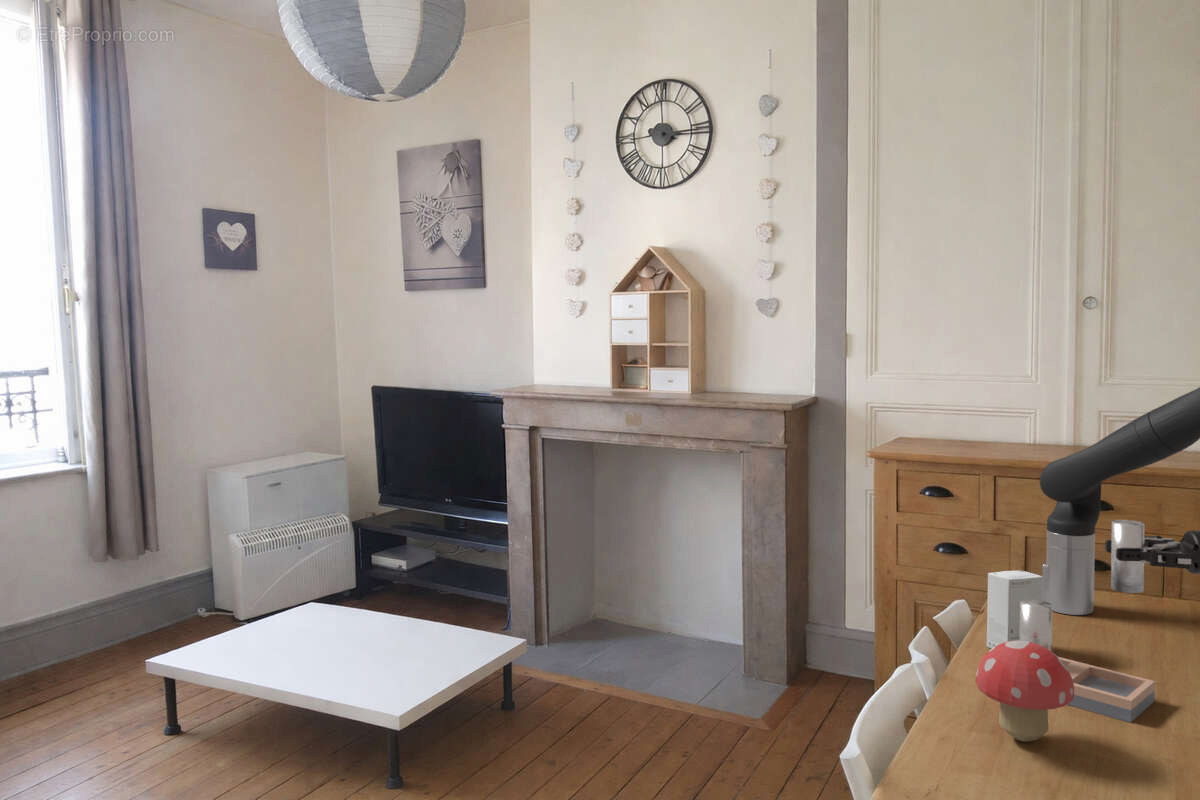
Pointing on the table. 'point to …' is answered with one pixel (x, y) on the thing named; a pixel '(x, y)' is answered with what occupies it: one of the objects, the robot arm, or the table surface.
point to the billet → (1127, 572)
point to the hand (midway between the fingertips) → (1111, 550)
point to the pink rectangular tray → (1109, 691)
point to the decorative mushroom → (1024, 686)
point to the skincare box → (1009, 603)
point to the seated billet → (1036, 622)
